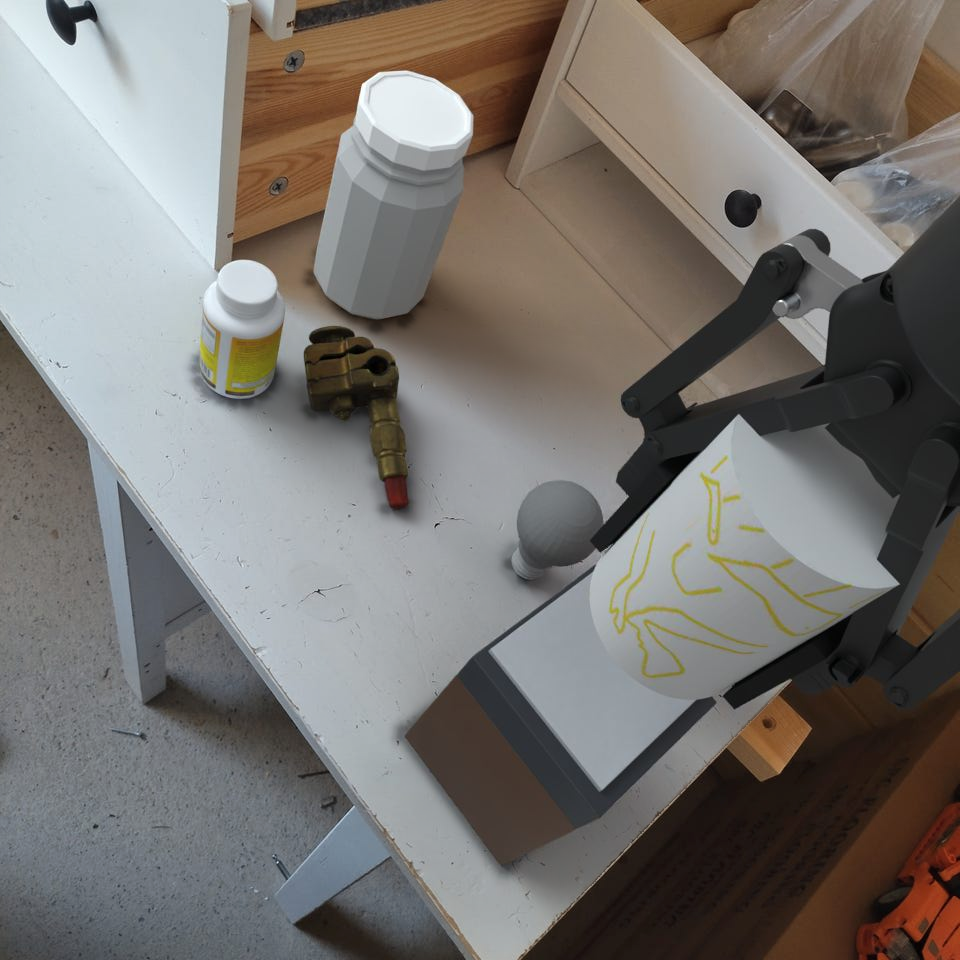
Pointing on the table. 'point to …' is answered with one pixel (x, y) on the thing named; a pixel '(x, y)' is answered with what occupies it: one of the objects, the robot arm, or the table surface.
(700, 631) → the cup
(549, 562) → the light bulb
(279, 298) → the supplement bottle
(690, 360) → the robot arm
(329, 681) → the table surface
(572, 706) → the brown and grey box
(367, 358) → the valve
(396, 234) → the jar
